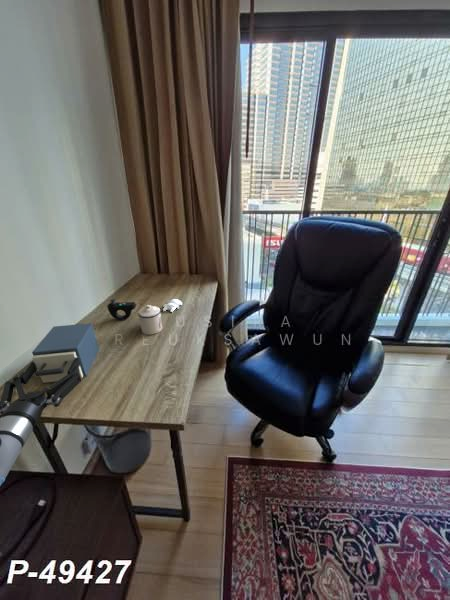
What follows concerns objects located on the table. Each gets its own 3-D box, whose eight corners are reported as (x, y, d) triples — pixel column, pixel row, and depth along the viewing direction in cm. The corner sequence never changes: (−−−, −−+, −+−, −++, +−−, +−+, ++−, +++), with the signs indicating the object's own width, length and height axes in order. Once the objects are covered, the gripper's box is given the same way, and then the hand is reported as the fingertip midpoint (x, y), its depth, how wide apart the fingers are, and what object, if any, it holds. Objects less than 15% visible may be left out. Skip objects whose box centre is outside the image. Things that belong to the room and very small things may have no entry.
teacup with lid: (164, 332, 106) (161, 308, 101) (142, 337, 103) (138, 312, 98) (159, 319, 116) (156, 296, 111) (139, 323, 113) (134, 300, 108)
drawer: (76, 389, 76) (67, 364, 72) (35, 395, 75) (22, 369, 70) (94, 352, 93) (88, 329, 89) (61, 355, 91) (52, 332, 87)
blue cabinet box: (86, 376, 83) (76, 347, 78) (44, 381, 81) (31, 352, 76) (99, 349, 96) (91, 323, 91) (63, 353, 94) (53, 326, 89)
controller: (112, 317, 118) (107, 298, 113) (139, 315, 119) (135, 296, 115) (109, 322, 114) (104, 302, 110) (137, 320, 115) (133, 301, 111)
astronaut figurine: (158, 311, 123) (157, 305, 122) (171, 300, 133) (171, 295, 132) (173, 314, 120) (173, 308, 119) (186, 303, 130) (185, 298, 129)
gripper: (-36, 443, 58) (18, 377, 77) (75, 428, 61) (100, 368, 81) (-52, 421, 55) (8, 357, 74) (66, 406, 58) (94, 349, 77)
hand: (56, 363), depth 77 cm, fingers closed on drawer, 12 cm apart
